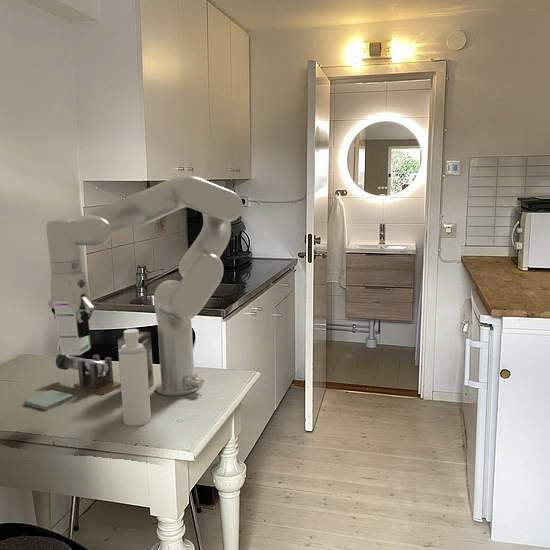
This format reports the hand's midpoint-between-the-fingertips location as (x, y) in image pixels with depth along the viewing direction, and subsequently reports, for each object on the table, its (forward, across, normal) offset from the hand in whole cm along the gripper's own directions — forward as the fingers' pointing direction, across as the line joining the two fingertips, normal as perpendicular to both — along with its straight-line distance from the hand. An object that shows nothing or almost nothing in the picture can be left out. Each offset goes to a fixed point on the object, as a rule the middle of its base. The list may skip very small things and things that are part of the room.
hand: (73, 334), depth 148 cm
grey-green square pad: (+21, +12, +1) cm, 24 cm away
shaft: (+17, +14, -13) cm, 26 cm away
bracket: (+21, +8, -13) cm, 26 cm away
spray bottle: (+21, -19, -1) cm, 28 cm away
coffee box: (+21, -4, -17) cm, 28 cm away
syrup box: (+5, 0, 0) cm, 5 cm away
